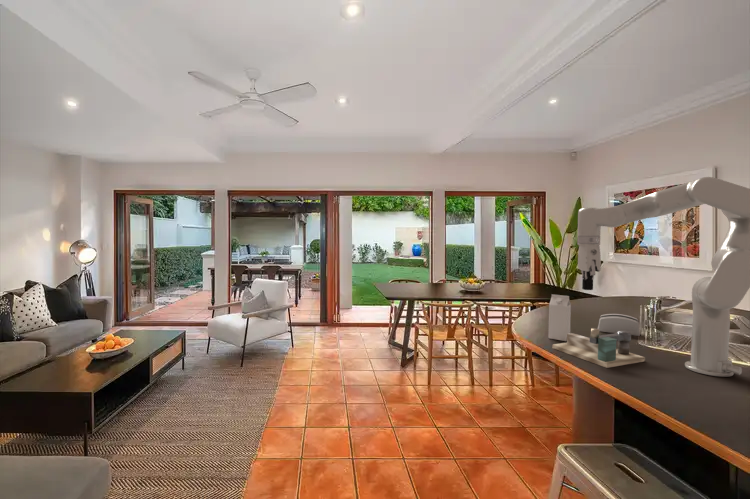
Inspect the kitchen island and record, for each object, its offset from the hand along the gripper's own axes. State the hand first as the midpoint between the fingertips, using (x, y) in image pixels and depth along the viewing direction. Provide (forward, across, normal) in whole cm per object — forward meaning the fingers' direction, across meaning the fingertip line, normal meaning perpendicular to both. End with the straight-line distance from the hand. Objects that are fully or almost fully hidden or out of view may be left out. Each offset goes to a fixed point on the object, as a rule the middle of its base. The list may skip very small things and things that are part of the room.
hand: (587, 289), depth 148 cm
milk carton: (+25, +23, +3) cm, 34 cm away
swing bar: (+18, -4, -7) cm, 20 cm away
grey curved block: (+25, +36, -27) cm, 52 cm away
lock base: (+25, +1, -4) cm, 25 cm away
